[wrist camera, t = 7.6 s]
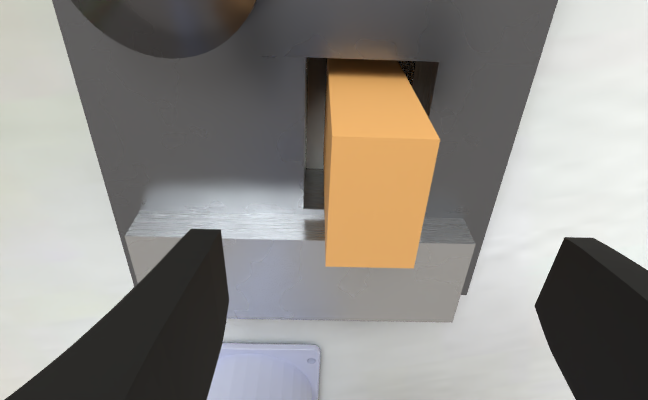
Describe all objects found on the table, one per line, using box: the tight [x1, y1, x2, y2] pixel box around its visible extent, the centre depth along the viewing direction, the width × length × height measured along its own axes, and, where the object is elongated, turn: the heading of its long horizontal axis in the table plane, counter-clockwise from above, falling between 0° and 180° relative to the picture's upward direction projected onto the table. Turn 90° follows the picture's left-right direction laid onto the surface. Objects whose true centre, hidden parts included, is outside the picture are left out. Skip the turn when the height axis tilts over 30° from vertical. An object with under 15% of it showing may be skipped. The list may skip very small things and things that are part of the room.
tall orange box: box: [323, 58, 440, 268], centre depth 14 cm, size 4×2×7 cm, turn 178°
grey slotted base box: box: [52, 0, 558, 322], centre depth 14 cm, size 16×14×4 cm
